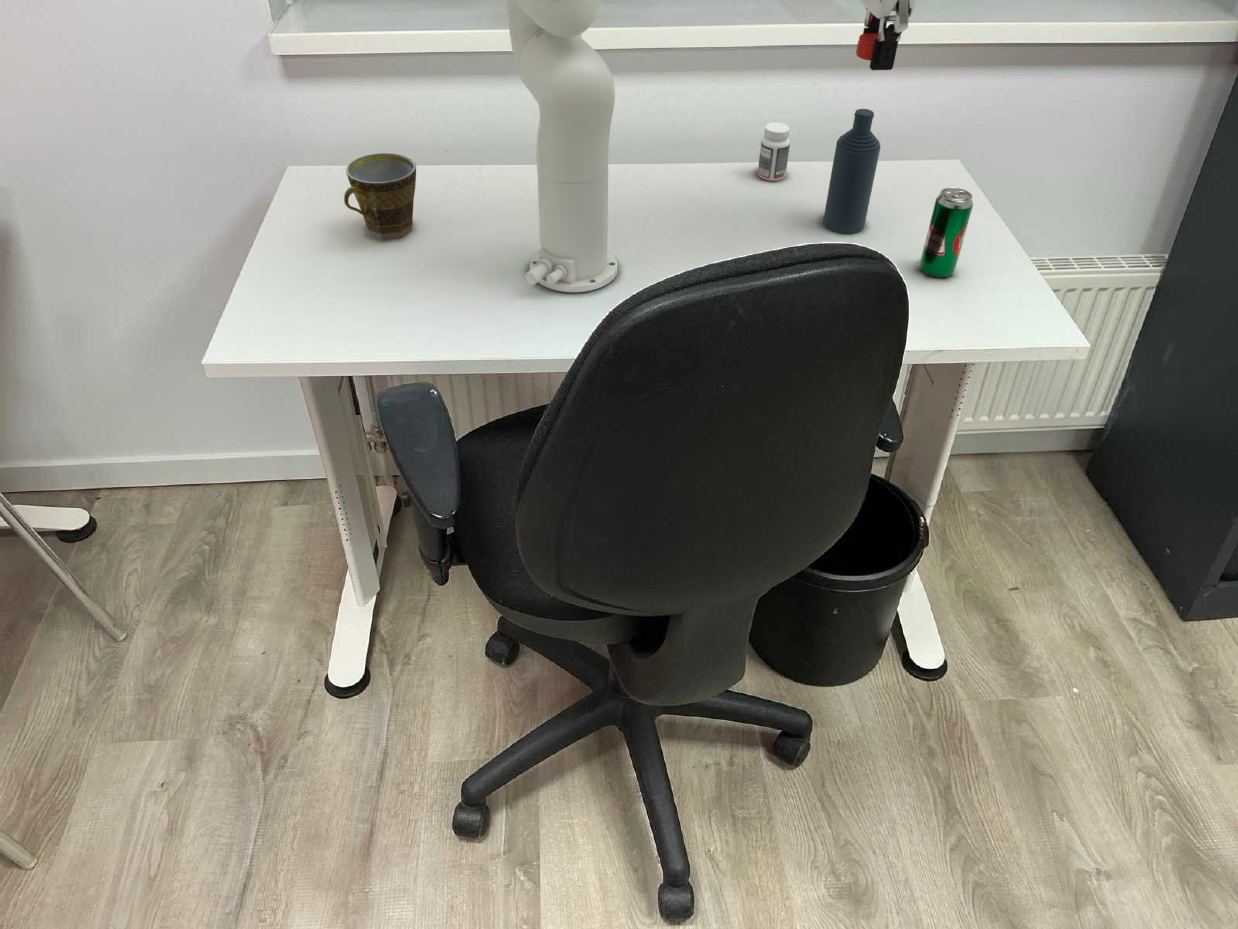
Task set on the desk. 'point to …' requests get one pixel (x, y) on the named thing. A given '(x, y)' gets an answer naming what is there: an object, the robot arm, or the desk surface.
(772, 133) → the pill bottle
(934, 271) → the soda can
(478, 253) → the desk surface
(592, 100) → the robot arm
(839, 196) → the bottle
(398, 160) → the ceramic cup
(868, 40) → the cap
